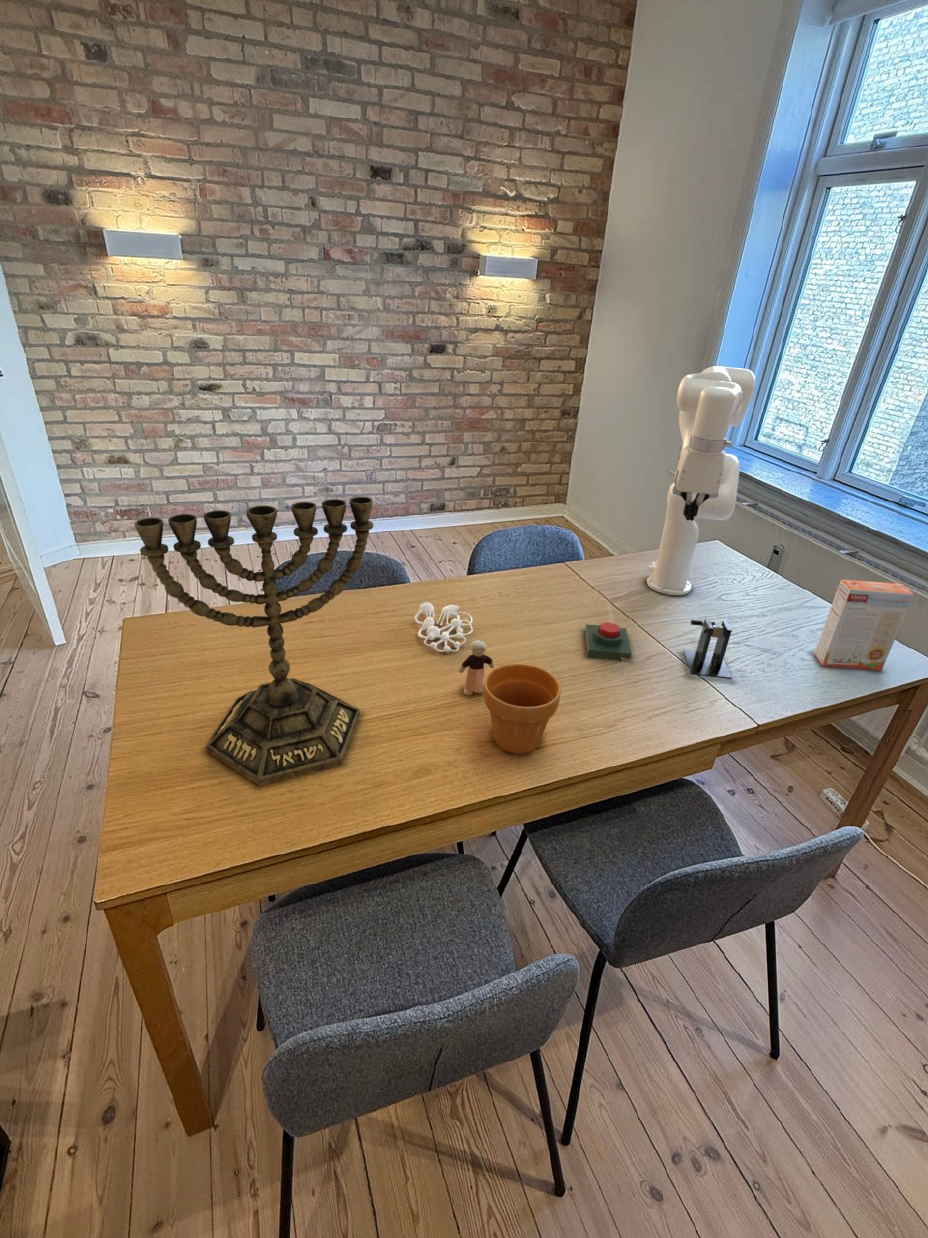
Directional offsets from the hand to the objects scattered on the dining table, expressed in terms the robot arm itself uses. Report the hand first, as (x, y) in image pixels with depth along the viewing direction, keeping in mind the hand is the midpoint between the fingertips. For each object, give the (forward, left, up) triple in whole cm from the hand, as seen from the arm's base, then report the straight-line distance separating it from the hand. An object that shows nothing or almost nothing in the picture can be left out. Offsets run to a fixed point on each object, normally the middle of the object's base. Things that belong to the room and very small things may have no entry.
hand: (688, 518), depth 157 cm
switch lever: (+19, -5, -21) cm, 29 cm away
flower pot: (+30, -61, -28) cm, 73 cm away
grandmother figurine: (+13, -62, -28) cm, 69 cm away
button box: (+7, -24, -28) cm, 37 cm away
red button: (+7, -24, -24) cm, 35 cm away
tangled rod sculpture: (-12, -59, -28) cm, 66 cm away
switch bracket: (+23, -7, -28) cm, 37 cm away
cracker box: (+33, +28, -28) cm, 52 cm away
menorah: (+13, -102, -28) cm, 106 cm away
